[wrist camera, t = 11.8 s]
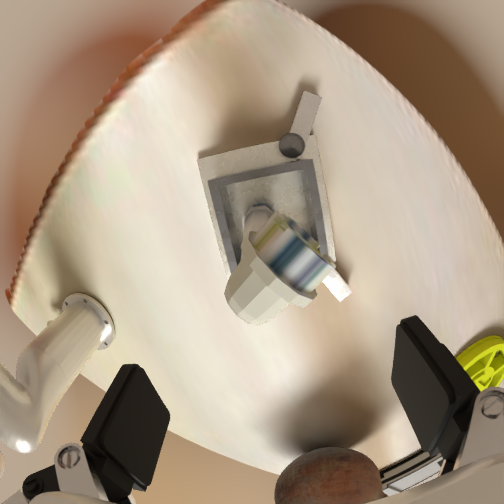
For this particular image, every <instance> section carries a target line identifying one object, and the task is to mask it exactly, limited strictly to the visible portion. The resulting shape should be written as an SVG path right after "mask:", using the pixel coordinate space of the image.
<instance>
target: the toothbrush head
mask: <svg viewBox="0 0 504 504" xmlns="http://www.w3.org/2000/svg"><path fill="white" fill-rule="evenodd" d="M242 226H243V240H242V244H241V250H242V253H241V261H240V263H239V264H238V266H237V267H236V268H235V270H234V271H233V272H232V274H231V275H230V277H229V280H228V283H227V286H226V289H225V293H224V294H225V297H226V300H227V303H228V305H229V306H230V308H231V309H232V310H233V311H234V313H235V314H236V315H237V316H238V317H240V318H241V319H242V320H244V321H245V322H247V323H249V324H254V325H259V324H263V323H266V322H268V321H269V320H270V319H272V318H273V317H274V316H275V315H277V314H278V313H279V312H280V311H282V310H283V309H284V308H285V307H287V306H288V305H289V304H293V305H296V306H299V307H302V308H305V307H306V306H307V305H308V304H309V303H310V302H311V301H312V300H313V299H314V298H315V297H316V296H317V293H316V290H315V288H316V287H317V286H318V285H319V284H320V283H321V282H322V281H323V280H324V279H325V278H326V277H327V276H328V275H329V274H330V273H331V272H332V271H333V269H334V268H335V267H336V265H335V263H334V262H333V260H332V258H331V257H330V256H329V255H327V254H325V255H324V256H322V254H321V253H320V252H319V251H318V250H317V249H318V248H319V247H320V245H319V244H318V243H317V242H316V241H315V240H314V239H313V238H312V237H311V236H310V235H309V234H308V233H307V232H306V231H305V230H304V229H303V228H302V227H301V226H299V225H298V224H297V223H296V222H295V221H294V220H292V219H291V218H289V217H288V216H287V215H285V214H284V213H282V214H280V213H279V212H278V211H277V210H276V211H275V212H274V211H272V210H271V209H270V208H269V207H268V206H266V205H265V204H263V205H253V207H251V208H250V209H249V210H248V211H247V213H246V214H245V215H244V216H243V217H242Z"/></svg>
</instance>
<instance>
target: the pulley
mask: <svg viewBox="0 0 504 504" xmlns="http://www.w3.org/2000/svg"><path fill="white" fill-rule="evenodd" d="M498 350H500V354H499V355H498V356H497V357H495V358H494V356H495V354H496V352H497V351H498ZM493 358H494V359H493ZM456 360H457V361H458V362H459V363H460V365H461V366H462V367H463V368H464V370H465V371H466V372H467V374H468V375H469V376H470V378H471V379H472V380H473V382H474V383H475V384H476V386H477V387H478V388H479V390H480V391H483V390H484V389H486V388H489V387H498V386H499V384H500V383H501V381H502V380H503V378H504V340H503V339H502V338H501V337H500V336H497V335H492V336H488V337H485V338H483V339H481V340H479V341H477V342H475V343H474V344H472V345H471V346H469V347H468V348H467V349H465V350H464V351H463V352H462V353H461V354H459V355H458V356H457V357H456Z"/></svg>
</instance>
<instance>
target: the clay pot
mask: <svg viewBox="0 0 504 504" xmlns="http://www.w3.org/2000/svg"><path fill="white" fill-rule="evenodd" d="M385 497H388V495H387V494H385V493H384V492H383V491H382V482H381V478H380V473H379V471H378V468H377V467H376V465H375V464H374V462H373V461H372V460H371V459H370V458H368V457H367V456H366V455H364V454H362V453H360V452H358V451H355V450H352V449H348V448H342V447H324V448H319V449H315V450H313V451H310V452H307V453H305V454H303V455H301V456H300V457H298V458H297V459H295V460H294V461H293V462H292V463H290V464H289V465H288V466H287V467H286V468H285V469H284V471H283V472H282V473H281V475H280V476H279V478H278V480H277V483H276V487H275V504H365V503H369V502H372V501H376V500H379V499H382V498H385Z"/></svg>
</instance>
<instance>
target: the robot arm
mask: <svg viewBox="0 0 504 504" xmlns="http://www.w3.org/2000/svg"><path fill="white" fill-rule="evenodd" d="M114 336H115V329H114V325H113V322H112V320H111V317H110V316H109V314H108V312H107V311H106V310H105V309H104V307H103V306H102V305H101V304H100V303H99V302H97V301H96V300H95V299H94V298H92V297H90V296H88V295H86V294H83V293H73V294H71V295H69V296H68V297H67V298H66V299H65V300H64V302H63V305H62V313H61V314H60V315H59V316H58V317H57V318H56V319H55V320H52V321H48V323H47V327H46V328H45V329H44V330H43V331H42V332H41V333H40V334H39V335H38V336H37V337H36V338H35V339H34V340H33V341H32V342H31V343H30V344H29V345H28V346H27V347H26V348H25V349H24V350H23V351H22V352H21V354H20V356H19V358H18V361H17V366H16V379H14V377H13V376H12V375H11V374H10V373H9V371H8V370H7V369H6V368H5V366H4V365H3V364H2V363H1V361H0V440H1V441H2V442H3V443H4V444H6V445H7V446H8V447H10V448H11V449H13V450H15V451H17V452H20V453H29V452H32V451H33V450H35V449H36V448H37V447H38V446H39V444H40V442H41V440H42V438H43V436H44V433H45V430H46V428H47V425H48V423H49V420H50V418H51V415H52V414H53V411H54V410H55V408H56V406H57V404H58V403H59V401H60V400H61V398H62V397H63V395H64V394H65V392H66V391H67V389H68V388H69V387H70V385H71V384H72V383H73V381H74V380H75V378H76V377H77V375H78V374H79V373H80V371H81V370H82V369H83V367H84V366H85V365H86V363H87V362H88V360H89V359H90V358H91V356H92V355H93V354H94V352H95V351H96V350H103V349H106V348H108V347H109V346H110V345H111V343H112V342H113V340H114ZM391 380H392V385H393V387H394V389H395V391H396V393H397V395H398V397H399V400H400V402H401V404H402V406H403V408H404V410H405V412H406V414H407V416H408V419H409V421H410V423H411V425H412V427H413V430H414V432H415V434H416V436H417V438H418V441H419V443H420V445H421V448H422V450H423V451H424V452H428V453H429V455H430V458H431V457H433V456H435V455H437V454H439V453H441V456H442V458H443V459H444V462H443V464H442V467H441V469H440V472H439V474H438V477H437V478H435V479H433V480H431V481H428V482H426V483H423V484H421V485H419V486H416V487H414V488H411V489H408V490H406V491H403V492H400V493H397V494H394V495H391V496H388V497H385V498H382V499H379V500H376V501H372V502H369V503H365V504H504V389H503V388H500V387H489V388H486V389H484V390H483V391H480V390H479V388H478V387H477V386H476V384H475V383H474V382H473V380H472V379H471V378H470V376H469V375H468V374H467V372H466V371H465V370H464V368H463V367H462V366H461V365H460V363H459V362H458V361H457V360H456V358H455V357H454V356H453V355H452V353H451V352H450V351H449V350H448V348H447V347H446V346H445V345H444V344H442V343H440V342H439V341H438V340H437V338H436V337H435V336H434V335H433V334H432V332H431V331H430V330H429V329H428V328H427V326H426V325H425V324H424V323H423V322H422V321H421V320H420V318H419V317H418V316H416V315H415V316H411V317H408V318H405V319H402V320H401V322H400V324H399V325H397V327H396V339H395V351H394V360H393V369H392V376H391ZM169 421H170V413H169V411H168V409H167V408H166V406H165V405H164V403H163V401H162V400H161V398H160V396H159V395H158V393H157V391H156V390H155V388H154V386H153V385H152V383H151V381H150V379H149V378H148V376H147V374H146V372H145V371H144V369H143V368H141V367H140V366H139V365H138V364H124V365H122V367H121V368H120V370H119V372H118V373H117V375H116V377H115V378H114V380H113V382H112V384H111V385H110V387H109V389H108V391H107V392H106V394H105V396H104V398H103V399H102V401H101V403H100V405H99V407H98V408H97V410H96V412H95V414H94V416H93V418H92V419H91V421H90V423H89V425H88V427H87V429H86V431H85V432H84V434H83V436H82V438H81V440H80V441H81V442H82V443H83V446H82V447H81V446H80V445H79V444H76V443H68V444H65V445H63V446H62V447H61V448H60V449H59V450H58V451H57V453H56V455H55V458H54V463H55V464H54V465H52V466H50V467H48V468H45V469H43V470H40V471H38V472H36V473H33V474H31V475H29V476H28V477H27V478H26V479H25V481H24V482H23V487H22V488H23V491H22V490H19V491H17V492H16V493H15V494H14V495H12V496H11V497H10V498H8V499H7V500H6V501H4V502H3V503H2V504H137V503H136V502H135V500H134V498H133V496H132V494H131V490H132V488H133V489H134V490H139V491H146V489H147V486H149V485H150V484H151V482H152V478H153V475H154V471H155V468H156V464H157V461H158V458H159V454H160V450H161V447H162V444H163V441H164V437H165V434H166V431H167V428H168V424H169ZM4 470H5V459H4V457H3V455H2V453H1V452H0V478H1V477H2V475H3V473H4Z"/></svg>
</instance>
